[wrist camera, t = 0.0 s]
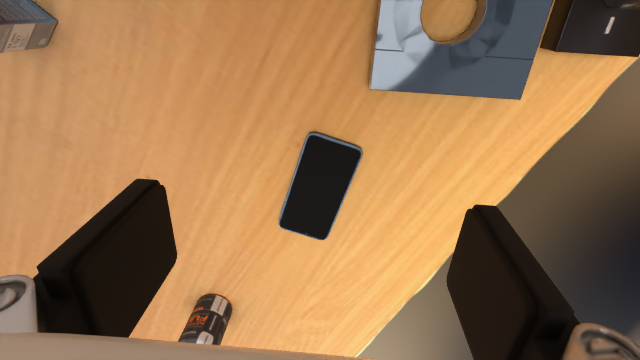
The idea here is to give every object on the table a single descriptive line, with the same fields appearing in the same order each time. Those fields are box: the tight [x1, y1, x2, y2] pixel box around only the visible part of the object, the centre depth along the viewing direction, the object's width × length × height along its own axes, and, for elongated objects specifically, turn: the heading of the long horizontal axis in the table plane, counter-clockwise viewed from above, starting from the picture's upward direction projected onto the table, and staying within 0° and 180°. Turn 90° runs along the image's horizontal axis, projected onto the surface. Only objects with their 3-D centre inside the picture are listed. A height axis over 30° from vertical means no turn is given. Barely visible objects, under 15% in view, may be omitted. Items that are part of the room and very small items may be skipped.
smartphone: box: [279, 132, 362, 240], centre depth 45 cm, size 7×1×15 cm
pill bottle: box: [178, 295, 232, 345], centre depth 53 cm, size 6×6×11 cm
